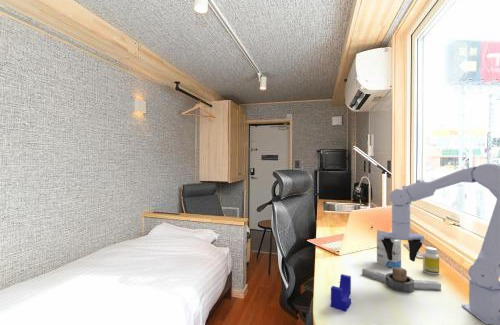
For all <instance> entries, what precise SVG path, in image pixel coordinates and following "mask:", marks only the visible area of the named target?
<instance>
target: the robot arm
mask: <svg viewBox="0 0 500 325" xmlns="http://www.w3.org/2000/svg"><path fill="white" fill-rule="evenodd" d="M460 183H477V184H479V185H481V186H482V187H484V188H486V189H487V190H488V191H489V192H490V193H491V194H492V195H493V196H494V197H495V198H496V202H495V205H494V208H493V210H492V214H491V217H490V221H489V222H488V226H487V228H486V233H485V236H484V239H483V243H482V244H481V248H480V252H479V253H478V256H477V258H476V259H475V260H474V262H473V264H472V265H470V267H469V268H468V276H469V278H468V288H469V289H468V298H469V299H468V302H469V303H468V304H466V303H465V304H464V303H462V304H461V307H463V308H464V309H465V310H467V311H468V312H470V314H472V315H473V316H474V317H475V318H477V319H478V320H480V321H481V322H482V323H484V324H486V325H500V279H499V278H500V165H499V164H494V163H483V164H479V165H477V166H472V167H466V168H463V169H462V168H461V169H460V170H457V171H453V172H451V173H449V174H446V175H445V176H444V175H443V176H442V177H439V178H436V179H434V180H431V181H429V180H426V179H422V180H421V179H417V180H415V183H411V184H408V185H406V184H405V185H402V186H401V188H395V189H394V190H392V191H391V192H390V193H389V201H390V202H391V232H388V233H379V238H380V239H381V241H382V243H383V245H384V247H385V250H386V253H387V258H388V259H389V260H392V249H393V244H394V243H393V242H391V240H401V241H408V242H407V243H408V248H409V251H408V255H409V260H410V261H411V262H416V258H417V255H418V252H419V250H420V249H421V248H422V247H423V242H424V241H425V237H424V235H423V234H420V233H419V234H418V233H411V203H412V202H417V201H420V200H424V199H425V198H429V197H433V196H434V194H435V192H436V191H437V190H440V189H443V188H447V187H450V186H454V185H457V184H460Z"/></svg>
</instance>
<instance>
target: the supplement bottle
mask: <svg viewBox="0 0 500 325" xmlns="http://www.w3.org/2000/svg"><path fill="white" fill-rule="evenodd" d="M437 253H438V249H437V248H436V247H432V246H425V248H424V252H423V254H422V257H423V258H422V270H423V272H424V273H426V274H429V275H435V276H436V275H440V256H439V254H437Z"/></svg>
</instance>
